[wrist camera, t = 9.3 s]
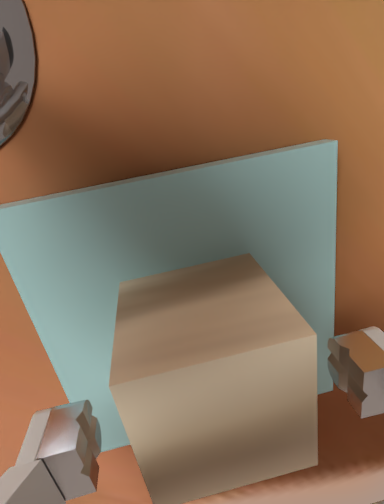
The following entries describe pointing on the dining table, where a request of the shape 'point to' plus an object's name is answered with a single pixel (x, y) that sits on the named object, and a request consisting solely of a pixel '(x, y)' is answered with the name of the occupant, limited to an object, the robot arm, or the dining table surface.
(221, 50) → the dining table surface
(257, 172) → the pad
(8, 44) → the wine glass
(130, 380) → the cube
